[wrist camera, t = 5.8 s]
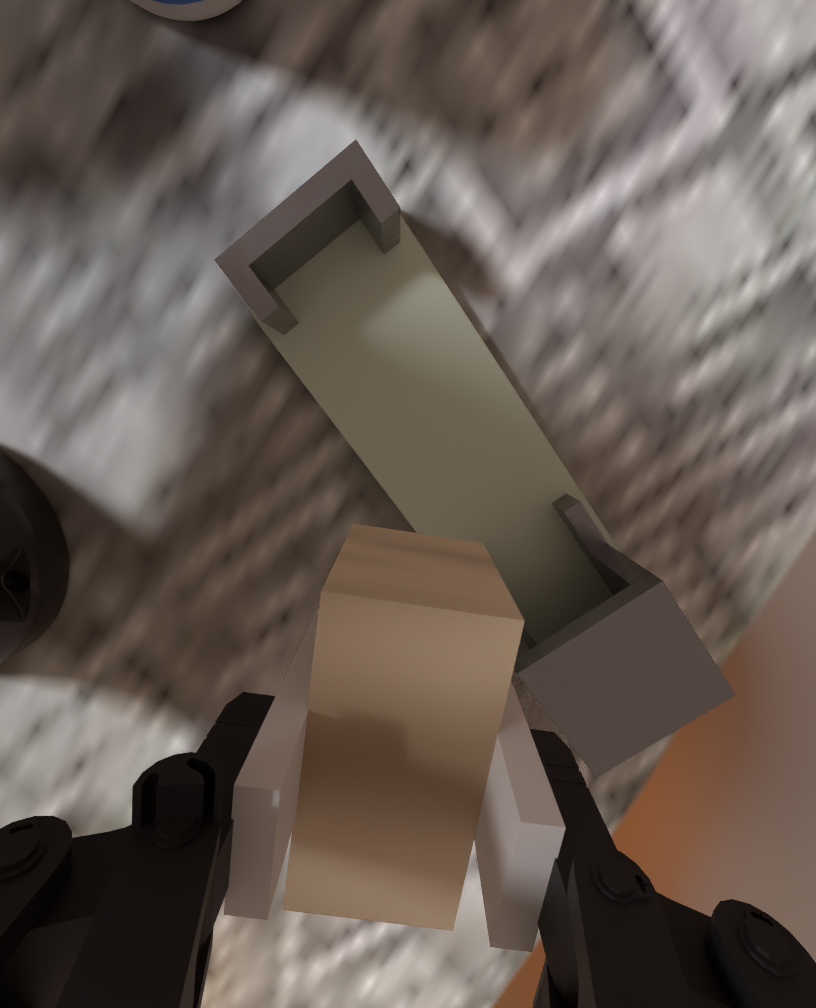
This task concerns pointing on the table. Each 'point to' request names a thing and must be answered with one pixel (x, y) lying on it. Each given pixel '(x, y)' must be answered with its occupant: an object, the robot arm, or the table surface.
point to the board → (437, 418)
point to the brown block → (400, 727)
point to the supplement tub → (187, 8)
